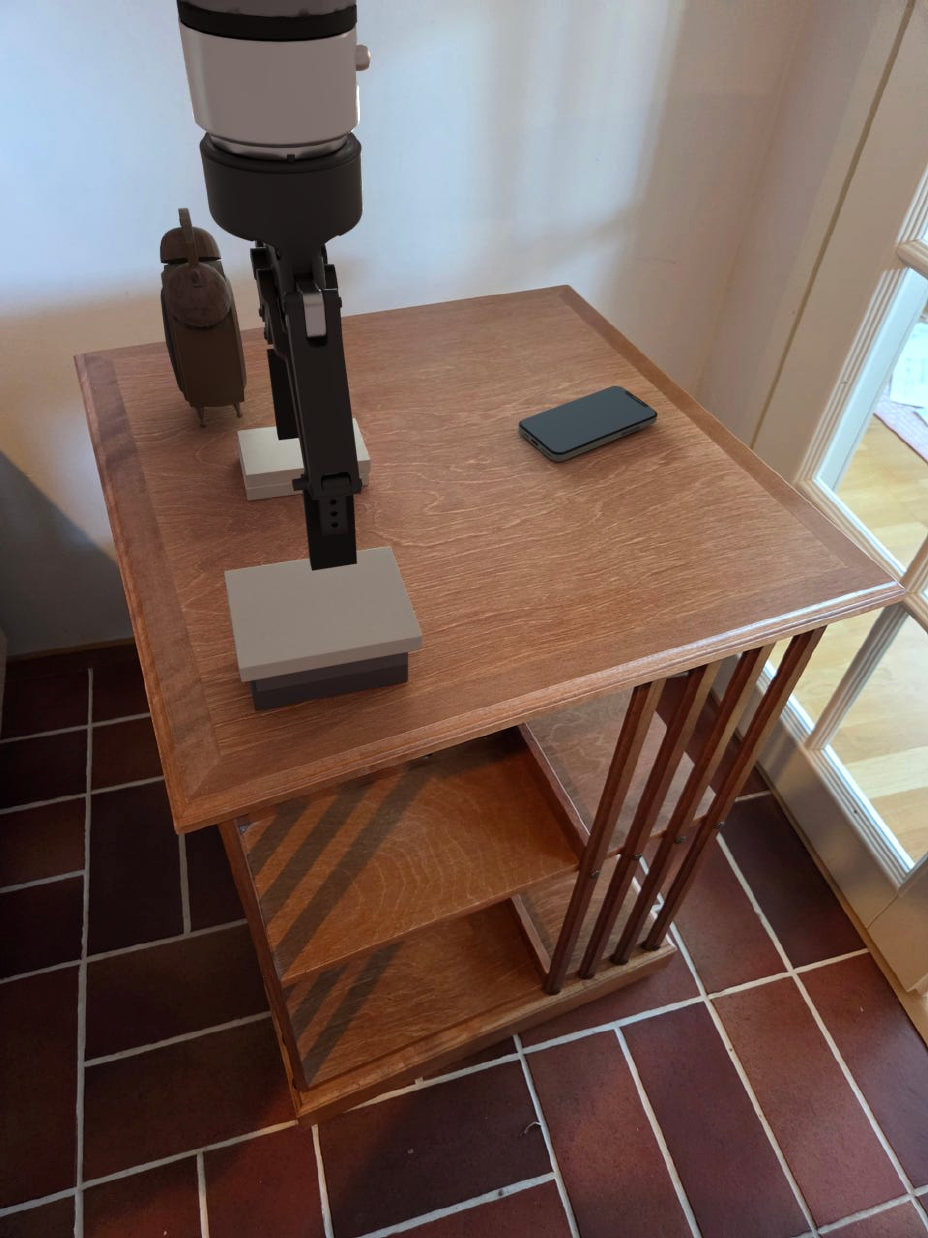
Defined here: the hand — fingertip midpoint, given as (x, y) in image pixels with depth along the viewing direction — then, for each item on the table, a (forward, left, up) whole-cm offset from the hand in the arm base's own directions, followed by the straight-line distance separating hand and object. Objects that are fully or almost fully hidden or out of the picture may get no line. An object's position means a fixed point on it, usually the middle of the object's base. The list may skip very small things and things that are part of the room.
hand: (314, 494), depth 54 cm
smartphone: (+16, +41, -18) cm, 47 cm away
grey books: (0, 0, -18) cm, 18 cm away
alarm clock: (-25, +32, -18) cm, 44 cm away
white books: (-11, +24, -18) cm, 32 cm away
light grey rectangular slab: (0, 0, -12) cm, 12 cm away
